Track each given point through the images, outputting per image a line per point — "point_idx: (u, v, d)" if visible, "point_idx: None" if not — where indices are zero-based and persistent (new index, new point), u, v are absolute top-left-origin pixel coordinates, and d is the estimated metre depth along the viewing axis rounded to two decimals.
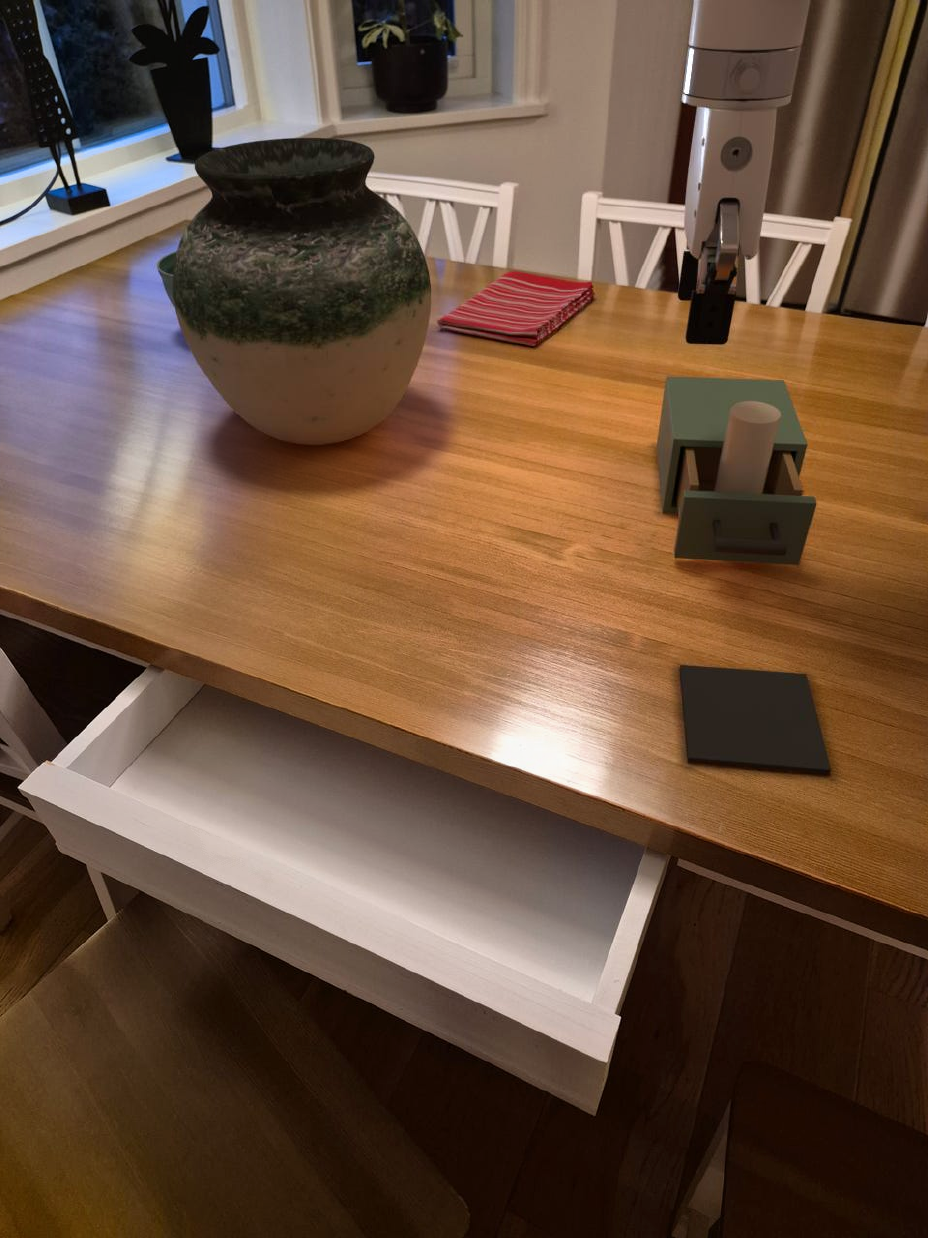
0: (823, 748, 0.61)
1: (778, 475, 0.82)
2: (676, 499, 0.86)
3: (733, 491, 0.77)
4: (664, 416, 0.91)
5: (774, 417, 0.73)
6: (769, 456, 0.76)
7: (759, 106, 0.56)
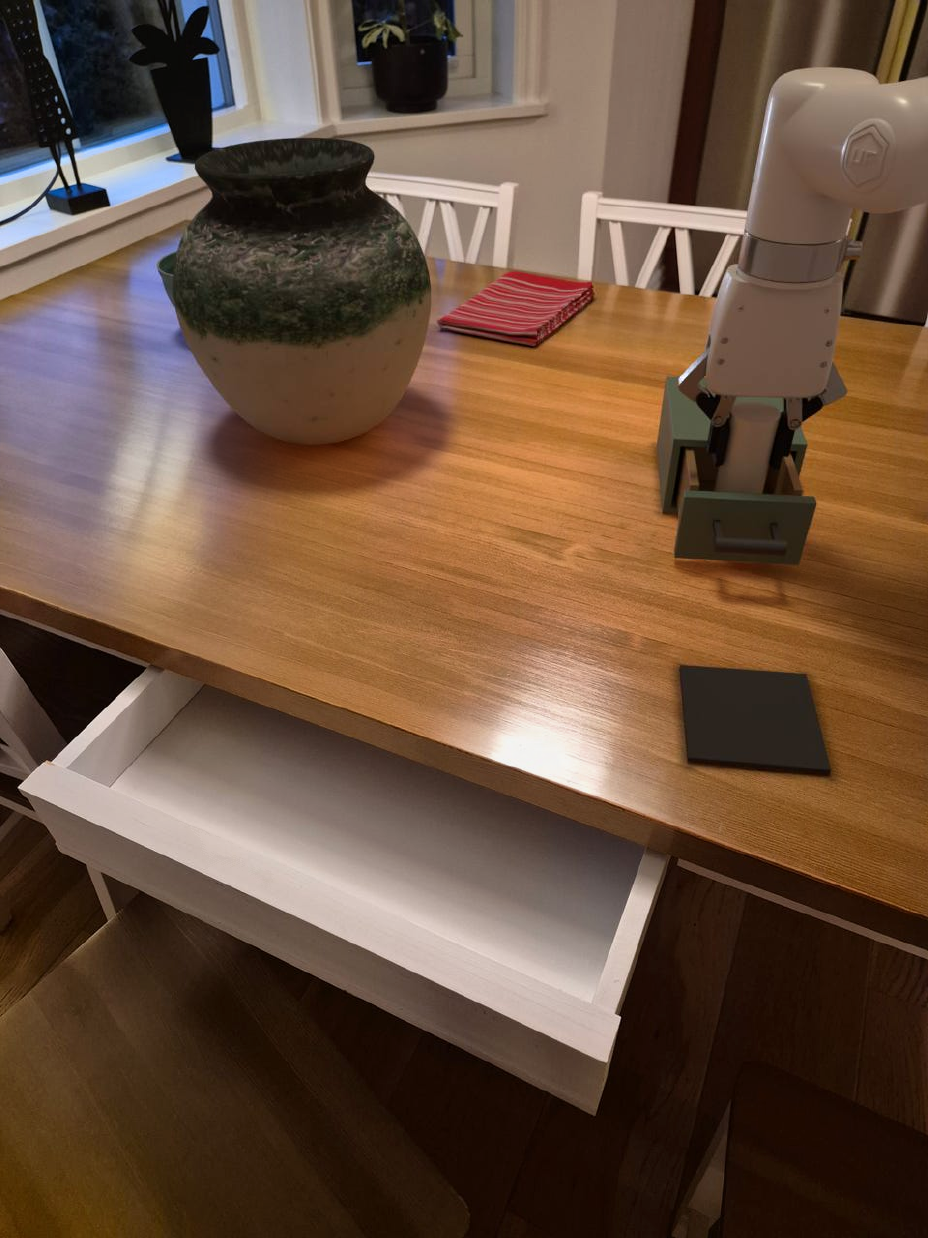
0: (823, 748, 0.61)
1: (778, 475, 0.82)
2: (676, 499, 0.86)
3: (733, 491, 0.77)
4: (664, 416, 0.91)
5: (774, 417, 0.73)
6: (769, 456, 0.76)
7: None
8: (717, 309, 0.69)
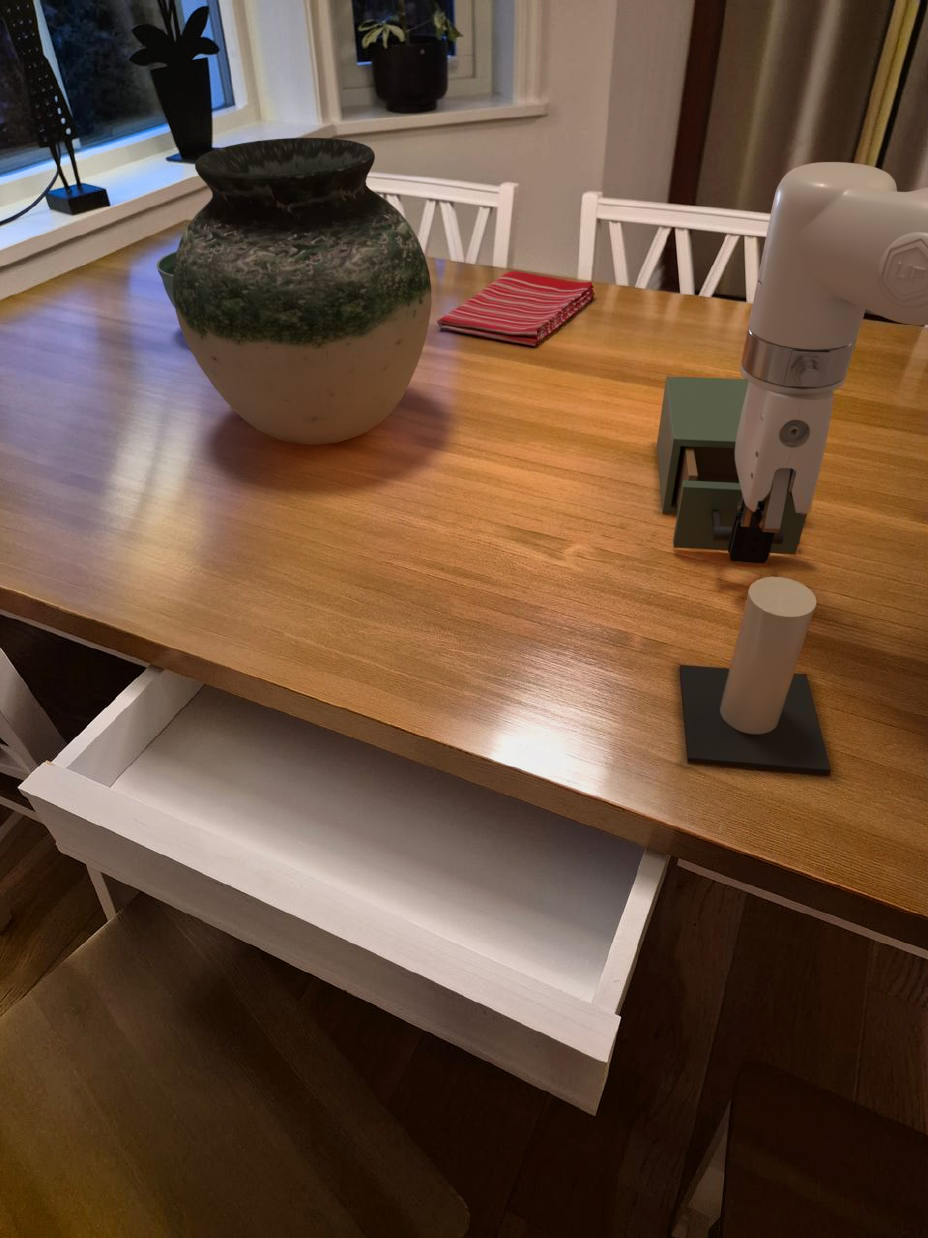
0: (823, 748, 0.61)
1: None
2: (675, 490, 0.87)
3: (752, 690, 0.60)
4: (664, 416, 0.91)
5: (808, 606, 0.56)
6: (800, 650, 0.58)
7: (817, 393, 0.59)
8: None
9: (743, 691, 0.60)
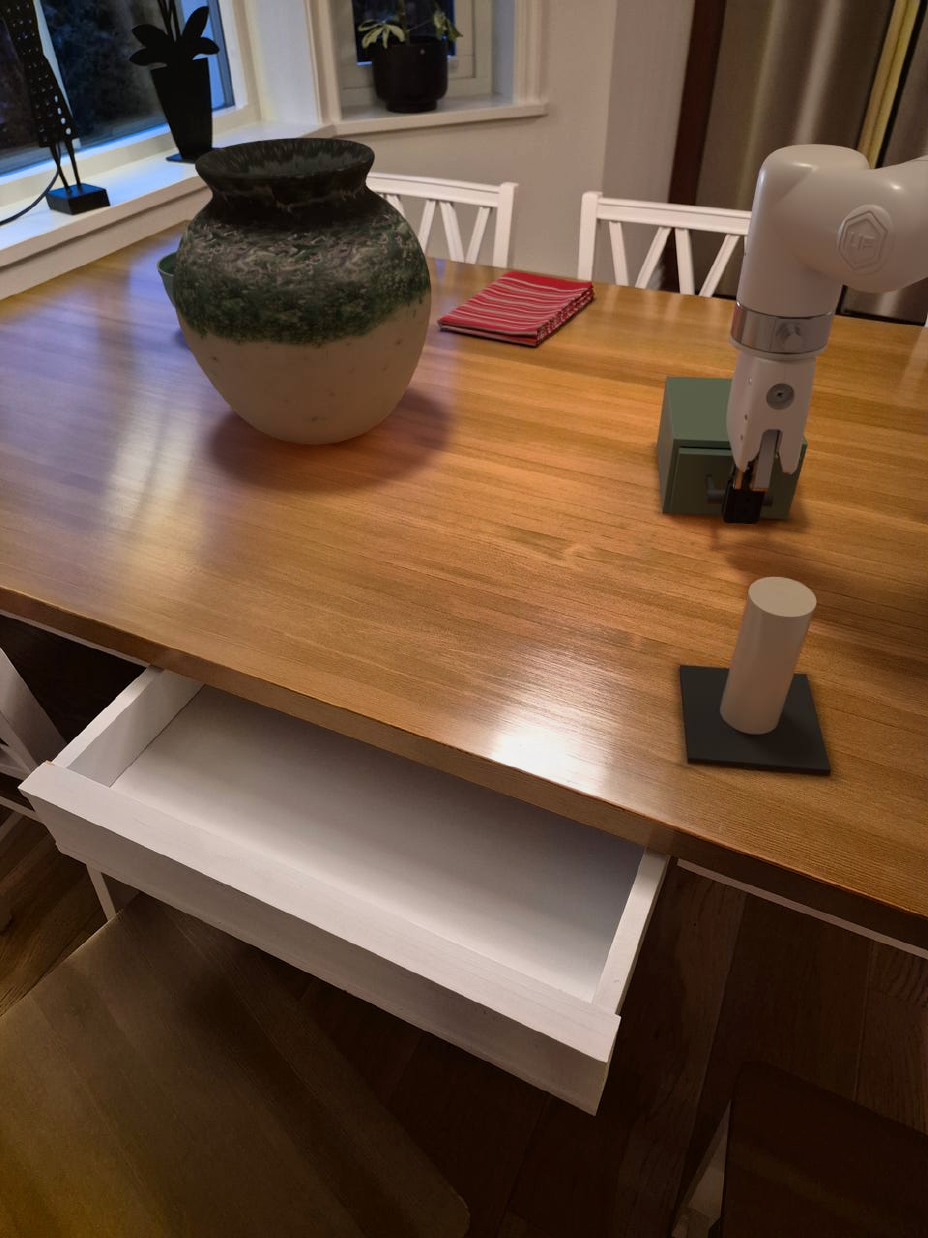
0: (823, 748, 0.61)
1: None
2: None
3: (752, 690, 0.60)
4: (664, 416, 0.91)
5: (808, 606, 0.56)
6: (800, 650, 0.58)
7: (800, 358, 0.64)
8: None
9: (743, 691, 0.60)
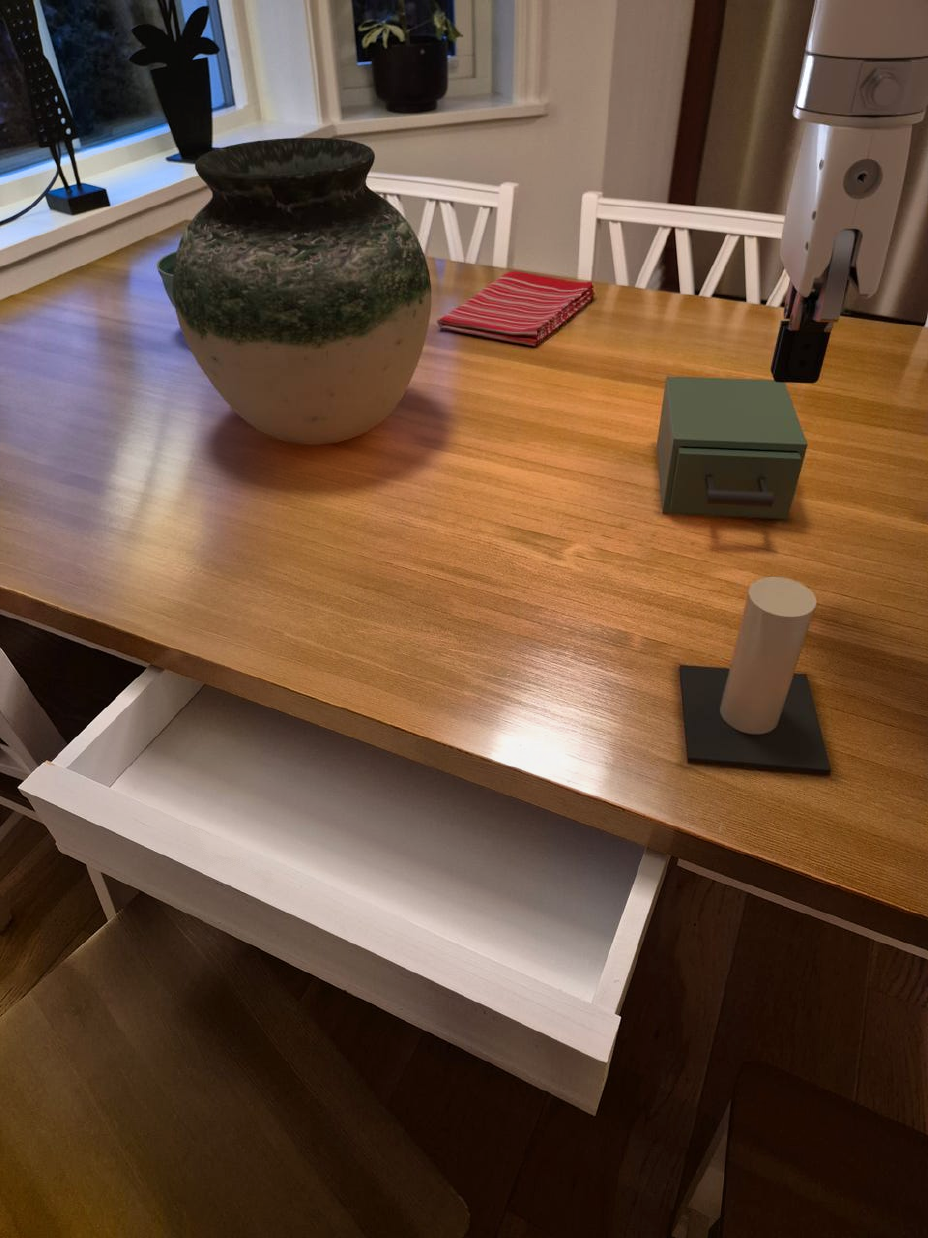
0: (823, 748, 0.61)
1: None
2: None
3: (752, 690, 0.60)
4: (664, 416, 0.91)
5: (808, 606, 0.56)
6: (800, 650, 0.58)
7: (892, 123, 0.48)
8: None
9: (743, 691, 0.60)
